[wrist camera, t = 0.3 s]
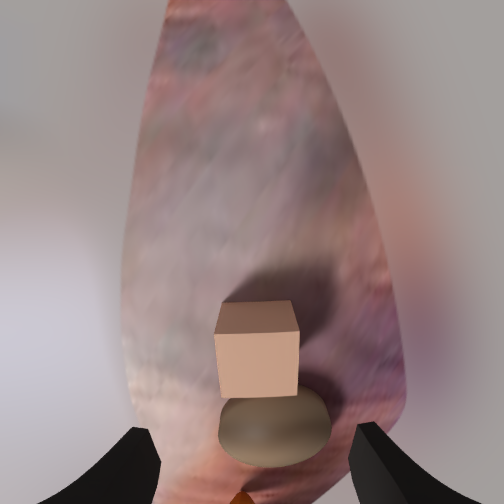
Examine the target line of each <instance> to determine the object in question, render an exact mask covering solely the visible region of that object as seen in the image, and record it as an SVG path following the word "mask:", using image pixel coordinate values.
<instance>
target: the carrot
mask: <svg viewBox="0 0 504 504" xmlns="http://www.w3.org/2000/svg"><path fill="white" fill-rule="evenodd" d="M230 504H255V503H254V502H253V500H252V499H251V497H250V496H249V495H248V494H247V493H246V492H244V491H241V492H239V493H237V494H236V496H235V497H234V498H233V500H232V501H231V502H230Z"/></svg>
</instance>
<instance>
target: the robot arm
mask: <svg viewBox="0 0 504 504" xmlns="http://www.w3.org/2000/svg"><path fill="white" fill-rule="evenodd" d="M348 460H349V465H350V471H351V476H352V480H353V484H354V487H355V490H356V493H357V496H358V499H359V502H360V504H481V503H479V502H476V501H474V500H472V499H470V498H468V497H465V496H463V495H461V494H460V493H458V492H456V491H454V490H452V489H450V488H449V487H447V486H446V485H444V484H443V483H441V482H440V481H438V480H437V479H435V478H434V477H432V476H431V475H430V474H428V473H427V472H426V471H425V470H424V469H422V468H421V467H420V466H419V465H418V464H416V463H415V462H414V461H413V460H412V459H411V458H410V457H409V456H408V455H407V454H405V453H404V452H403V451H402V450H401V449H400V448H399V447H398V446H397V445H396V444H395V443H394V442H393V441H392V440H391V439H390V438H389V437H388V436H387V435H386V433H385V432H384V431H383V430H382V429H381V428H380V427H379V426H378V425H377V424H376V423H375V422H374V421H373V422H368V423H362V424H357V428H356V432H355V436H354V439H353V443H352V447H351V450H350V454H349V457H348ZM160 467H161V460H160V458H159V455H158V453H157V451H156V448H155V446H154V443H153V441H152V438H151V435H150V433H149V430H148V429H144V428H137V427H132V428H131V429H130V430H129V431H128V432H127V433H126V434H125V435H124V436H123V437H122V438H121V439H120V440H119V441H118V442H117V443H116V444H115V445H114V446H113V447H112V448H111V449H110V450H109V452H107V453H106V454H105V455H104V456H103V457H102V458H101V459H100V460H99V461H98V462H97V463H96V464H95V465H94V466H93V467H91V468H90V469H89V470H88V471H87V472H85V473H84V474H83V475H82V476H81V477H80V478H78V479H77V480H76V481H74V482H73V483H72V484H70V485H69V486H67V487H66V488H65V489H63V490H61V491H60V492H58V493H57V494H55V495H53V496H51V497H50V498H48V499H46V500H44V501H42V502H40V503H38V504H151V503H152V501H153V497H154V494H155V491H156V488H157V485H158V479H159V473H160Z"/></svg>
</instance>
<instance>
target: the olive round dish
mask: <svg viewBox="0 0 504 504" xmlns="http://www.w3.org/2000/svg"><path fill="white" fill-rule="evenodd" d="M331 429H332V427H331V421H330V418H329V415H328V411H327V408H326V405H325V403H324V401H323V399H322V398H321V397H320V396H319V395H318V394H317V393H316V392H314V391H313V390H311V389H309V388H307V387H305V386H302V385H299V384H298V386H297V395H295V396H280V397H257V398H230V399H229V400H228V401H227V403H226V404H225V405H224V407H223V409H222V412H221V417H220V424H219V431H218V438H219V442H220V444H221V446H222V448H223V449H224V450H225V451H226V452H227V453H228V454H229V455H230V456H231V457H233V458H234V459H236V460H238V461H240V462H243V463H245V464H248V465H252V466H258V467H283V466H289V465H293V464H296V463H299V462H302V461H304V460H306V459H308V458H310V457H312V456H313V455H315V454H316V453H318V452H319V451H320V450H321V449H322V448H323V447H324V446H325V445H326V443H327V442H328V440H329V438H330V435H331Z"/></svg>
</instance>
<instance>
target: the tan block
mask: <svg viewBox="0 0 504 504" xmlns="http://www.w3.org/2000/svg"><path fill="white" fill-rule="evenodd" d="M299 337H300V331H299V327H298V324H297V321H296V317H295V314H294V310H293V307H292V304H291V300H283V301H259V302H227V303H222V305H221V309H220V313H219V317H218V321H217V325H216V328H215V332H214V338H215V348H216V357H217V365H218V374H219V382H220V390H221V397H222V398H257V397H280V396H295V395H297V386H298V365H299Z"/></svg>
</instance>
